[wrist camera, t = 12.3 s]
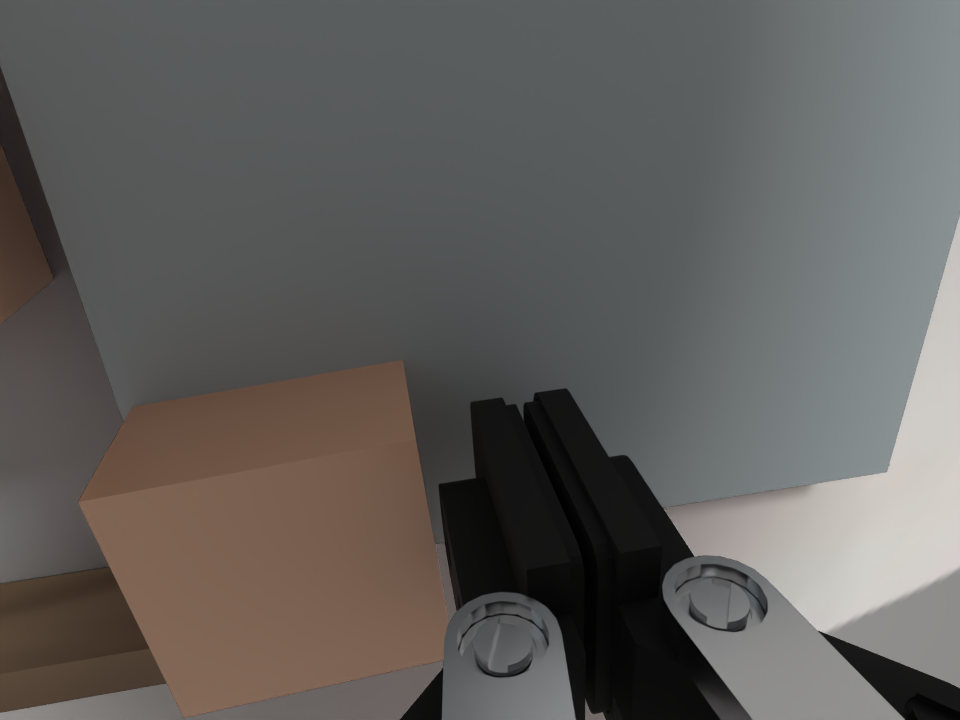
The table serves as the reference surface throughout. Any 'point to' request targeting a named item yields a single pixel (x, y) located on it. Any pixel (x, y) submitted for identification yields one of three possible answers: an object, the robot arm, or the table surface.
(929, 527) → the table surface
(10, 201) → the tile
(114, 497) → the tile
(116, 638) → the tray
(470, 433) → the board
